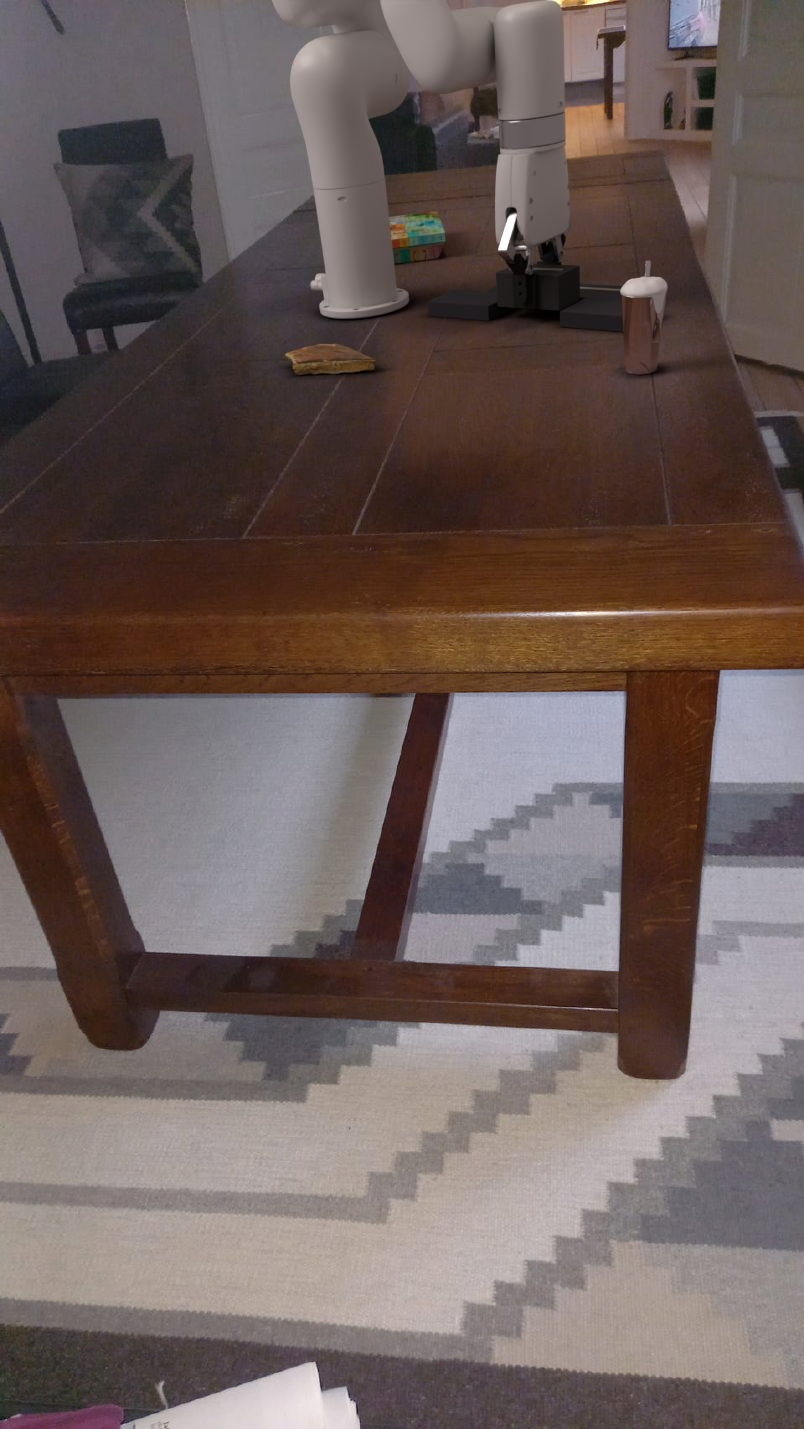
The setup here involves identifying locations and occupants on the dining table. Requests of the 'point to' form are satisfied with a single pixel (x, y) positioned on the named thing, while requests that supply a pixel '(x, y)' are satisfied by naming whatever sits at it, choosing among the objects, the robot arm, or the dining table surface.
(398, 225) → the puzzle game
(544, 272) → the pad
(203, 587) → the dining table surface
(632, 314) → the milkshake
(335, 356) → the toasted sandwich half
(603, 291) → the socket pad
